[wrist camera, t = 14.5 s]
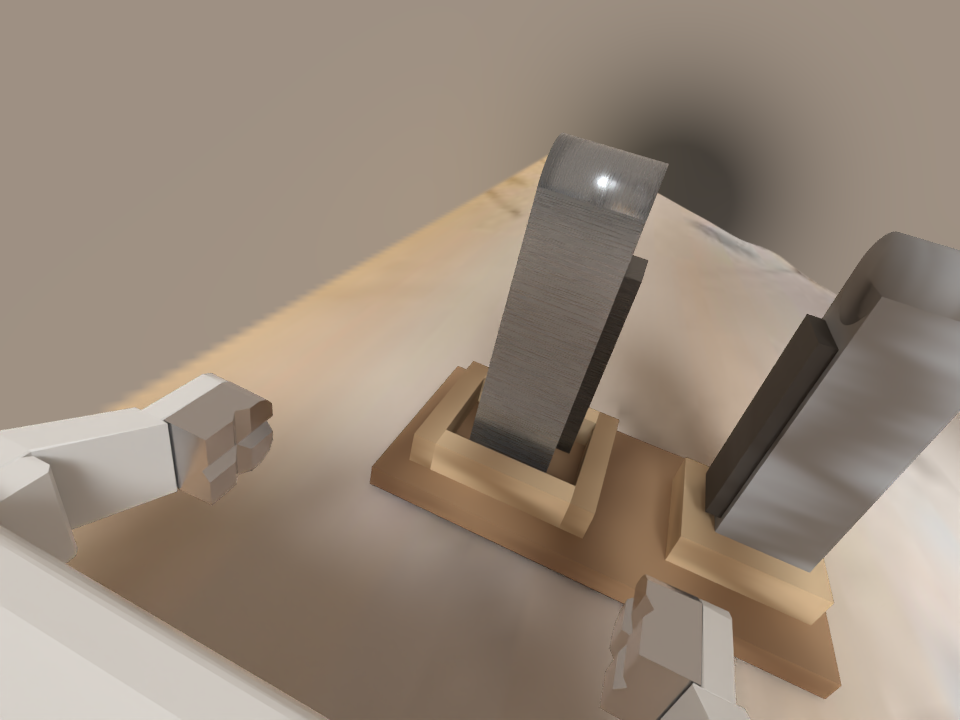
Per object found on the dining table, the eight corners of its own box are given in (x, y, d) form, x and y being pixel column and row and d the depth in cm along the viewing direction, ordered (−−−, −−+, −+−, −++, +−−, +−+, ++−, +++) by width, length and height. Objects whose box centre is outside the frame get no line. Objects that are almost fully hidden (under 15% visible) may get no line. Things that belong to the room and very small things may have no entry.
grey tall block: (568, 449, 25) (688, 162, 18) (553, 491, 23) (685, 178, 15) (488, 416, 26) (571, 128, 19) (465, 452, 23) (550, 137, 16)
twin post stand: (792, 520, 26) (1017, 245, 18) (824, 699, 18) (1230, 368, 11) (454, 380, 29) (518, 101, 22) (369, 483, 22) (419, 118, 14)
